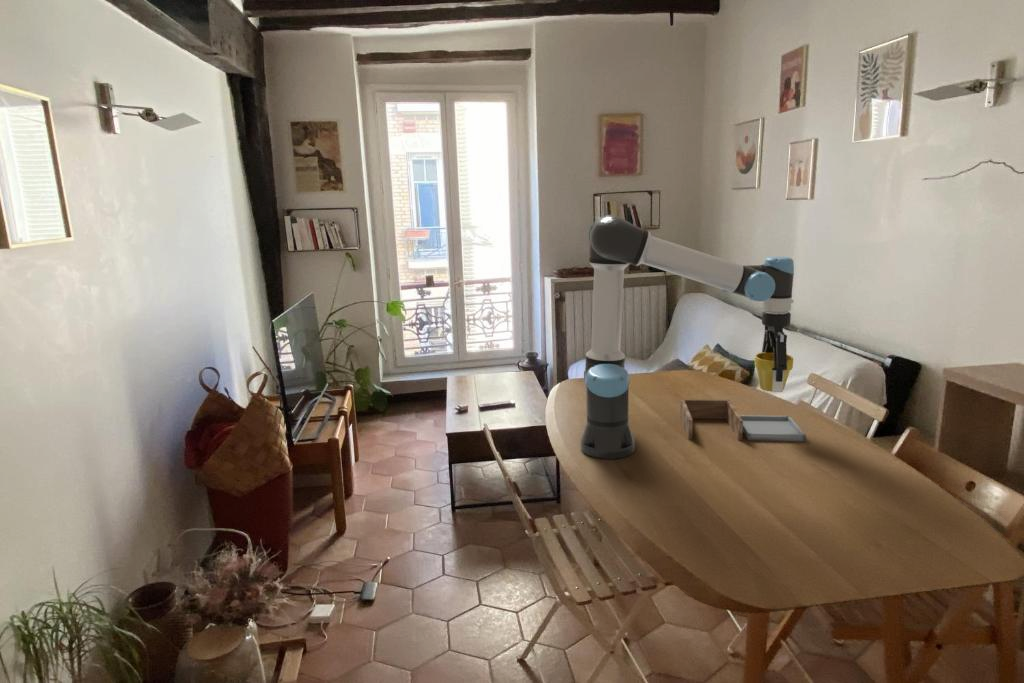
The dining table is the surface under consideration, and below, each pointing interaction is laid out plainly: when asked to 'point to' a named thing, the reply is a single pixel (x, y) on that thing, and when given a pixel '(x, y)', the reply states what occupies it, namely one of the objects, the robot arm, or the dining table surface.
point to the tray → (771, 428)
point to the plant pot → (769, 369)
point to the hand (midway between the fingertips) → (772, 386)
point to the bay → (710, 414)
